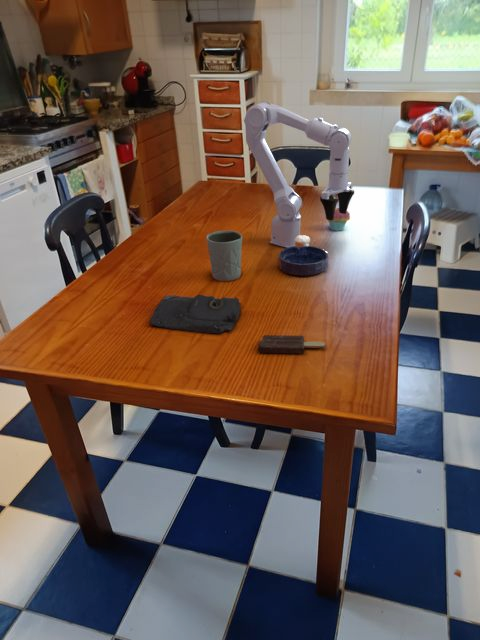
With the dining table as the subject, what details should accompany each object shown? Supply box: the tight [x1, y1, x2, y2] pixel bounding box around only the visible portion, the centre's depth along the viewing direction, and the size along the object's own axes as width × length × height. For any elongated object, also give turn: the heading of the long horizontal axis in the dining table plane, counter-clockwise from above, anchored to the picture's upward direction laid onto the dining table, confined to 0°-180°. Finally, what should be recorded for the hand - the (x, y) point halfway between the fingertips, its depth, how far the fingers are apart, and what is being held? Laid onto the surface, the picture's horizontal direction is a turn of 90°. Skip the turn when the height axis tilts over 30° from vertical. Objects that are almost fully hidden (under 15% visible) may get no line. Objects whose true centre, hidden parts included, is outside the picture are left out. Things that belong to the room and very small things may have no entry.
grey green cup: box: [205, 230, 243, 282], centre depth 141 cm, size 10×10×12 cm
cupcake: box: [327, 195, 351, 231], centre depth 172 cm, size 9×8×12 cm
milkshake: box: [295, 234, 311, 264], centre depth 145 cm, size 5×5×10 cm
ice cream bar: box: [258, 334, 326, 355], centre depth 110 cm, size 5×2×15 cm
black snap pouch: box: [149, 294, 242, 335], centre depth 123 cm, size 15×22×5 cm
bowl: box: [278, 245, 329, 277], centre depth 147 cm, size 15×15×4 cm
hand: (336, 216), depth 155 cm, fingers open, 7 cm apart
